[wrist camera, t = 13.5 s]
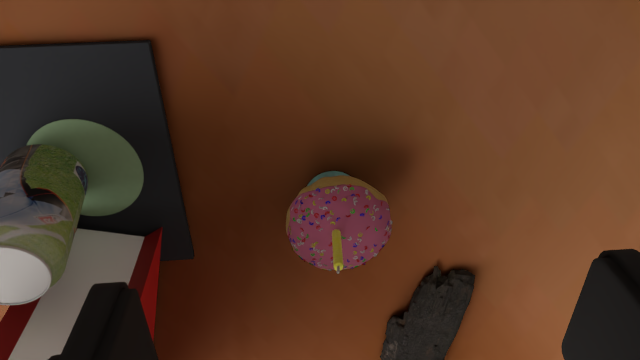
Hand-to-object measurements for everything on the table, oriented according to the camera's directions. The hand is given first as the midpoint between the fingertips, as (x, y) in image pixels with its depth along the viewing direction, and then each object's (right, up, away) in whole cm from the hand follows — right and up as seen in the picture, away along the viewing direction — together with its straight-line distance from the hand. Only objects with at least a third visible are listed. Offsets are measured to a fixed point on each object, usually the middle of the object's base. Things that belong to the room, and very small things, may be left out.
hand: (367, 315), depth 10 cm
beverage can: (-22, +3, +29) cm, 36 cm away
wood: (+10, -15, +44) cm, 47 cm away
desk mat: (-20, +4, +29) cm, 36 cm away
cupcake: (0, +2, +33) cm, 33 cm away
